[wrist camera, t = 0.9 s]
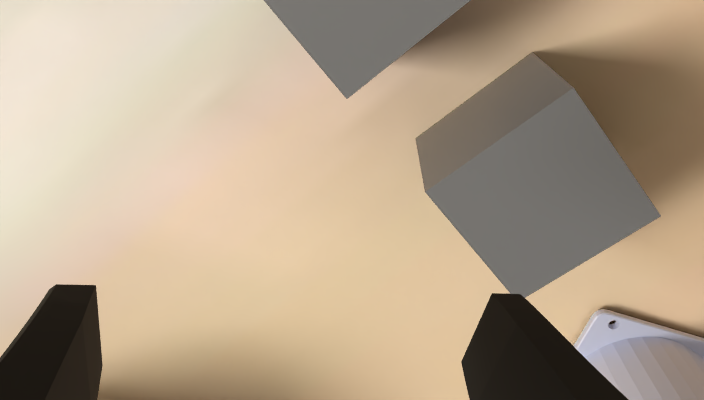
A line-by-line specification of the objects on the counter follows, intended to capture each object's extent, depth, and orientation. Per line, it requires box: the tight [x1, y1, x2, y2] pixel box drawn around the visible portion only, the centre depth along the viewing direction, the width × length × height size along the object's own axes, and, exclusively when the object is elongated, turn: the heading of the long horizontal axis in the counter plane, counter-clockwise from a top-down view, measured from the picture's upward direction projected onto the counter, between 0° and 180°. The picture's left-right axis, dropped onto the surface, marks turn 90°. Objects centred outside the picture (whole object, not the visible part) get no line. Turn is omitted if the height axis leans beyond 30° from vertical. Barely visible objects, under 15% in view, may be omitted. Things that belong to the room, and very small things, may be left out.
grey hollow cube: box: [416, 52, 661, 298], centre depth 23 cm, size 6×6×6 cm
